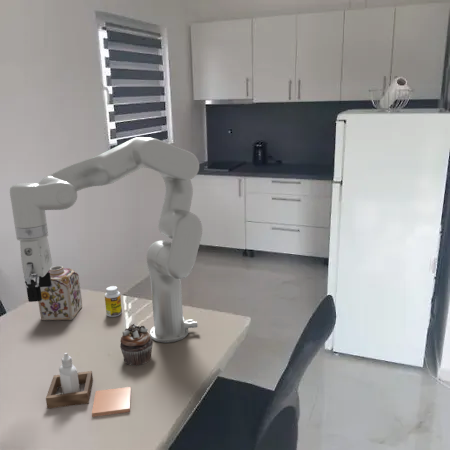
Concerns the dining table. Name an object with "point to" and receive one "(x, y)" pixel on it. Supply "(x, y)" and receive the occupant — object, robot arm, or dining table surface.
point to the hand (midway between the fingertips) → (40, 293)
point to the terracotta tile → (111, 401)
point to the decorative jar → (61, 295)
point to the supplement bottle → (113, 301)
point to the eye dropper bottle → (68, 376)
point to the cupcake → (136, 345)
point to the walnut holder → (69, 398)
